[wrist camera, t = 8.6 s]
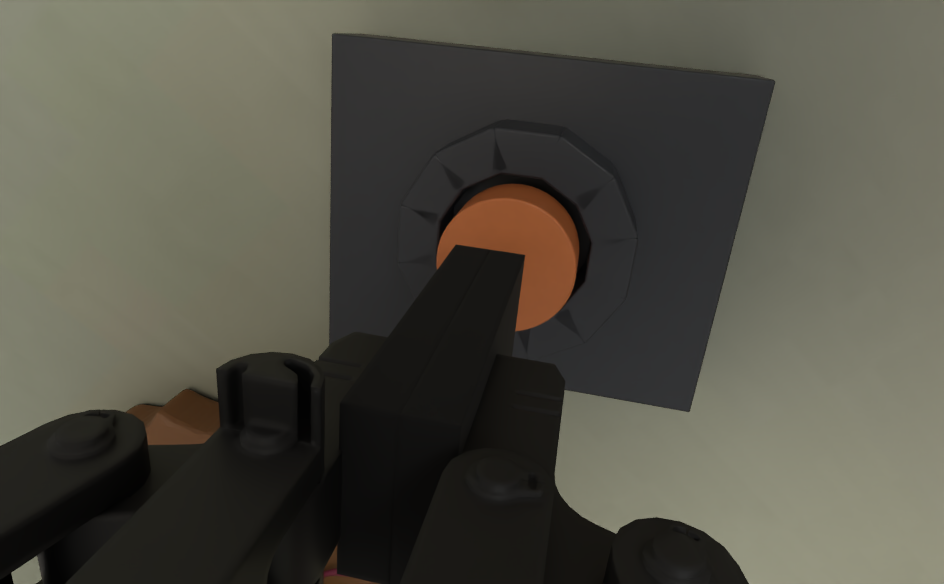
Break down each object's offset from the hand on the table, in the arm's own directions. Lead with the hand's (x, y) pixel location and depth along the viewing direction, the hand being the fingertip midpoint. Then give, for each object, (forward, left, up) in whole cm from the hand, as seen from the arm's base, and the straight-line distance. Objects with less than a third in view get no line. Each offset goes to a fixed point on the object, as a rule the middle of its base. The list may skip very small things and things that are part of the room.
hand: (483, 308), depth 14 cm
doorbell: (0, 0, -8) cm, 8 cm away
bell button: (0, 0, -4) cm, 4 cm away
